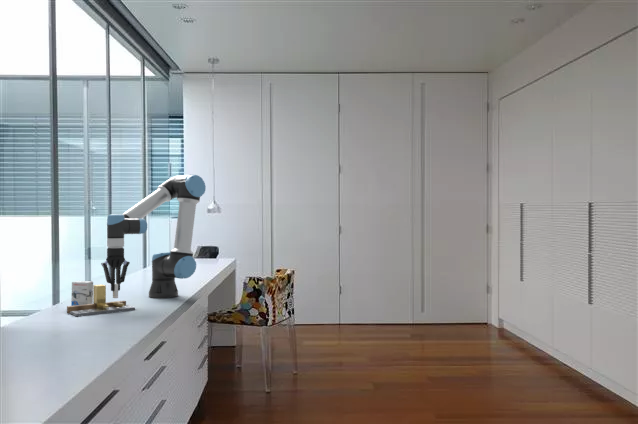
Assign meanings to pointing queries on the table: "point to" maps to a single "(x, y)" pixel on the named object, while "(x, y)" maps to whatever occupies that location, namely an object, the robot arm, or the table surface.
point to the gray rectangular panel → (101, 310)
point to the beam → (94, 306)
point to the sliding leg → (99, 296)
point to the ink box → (82, 293)
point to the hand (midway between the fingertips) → (115, 297)
